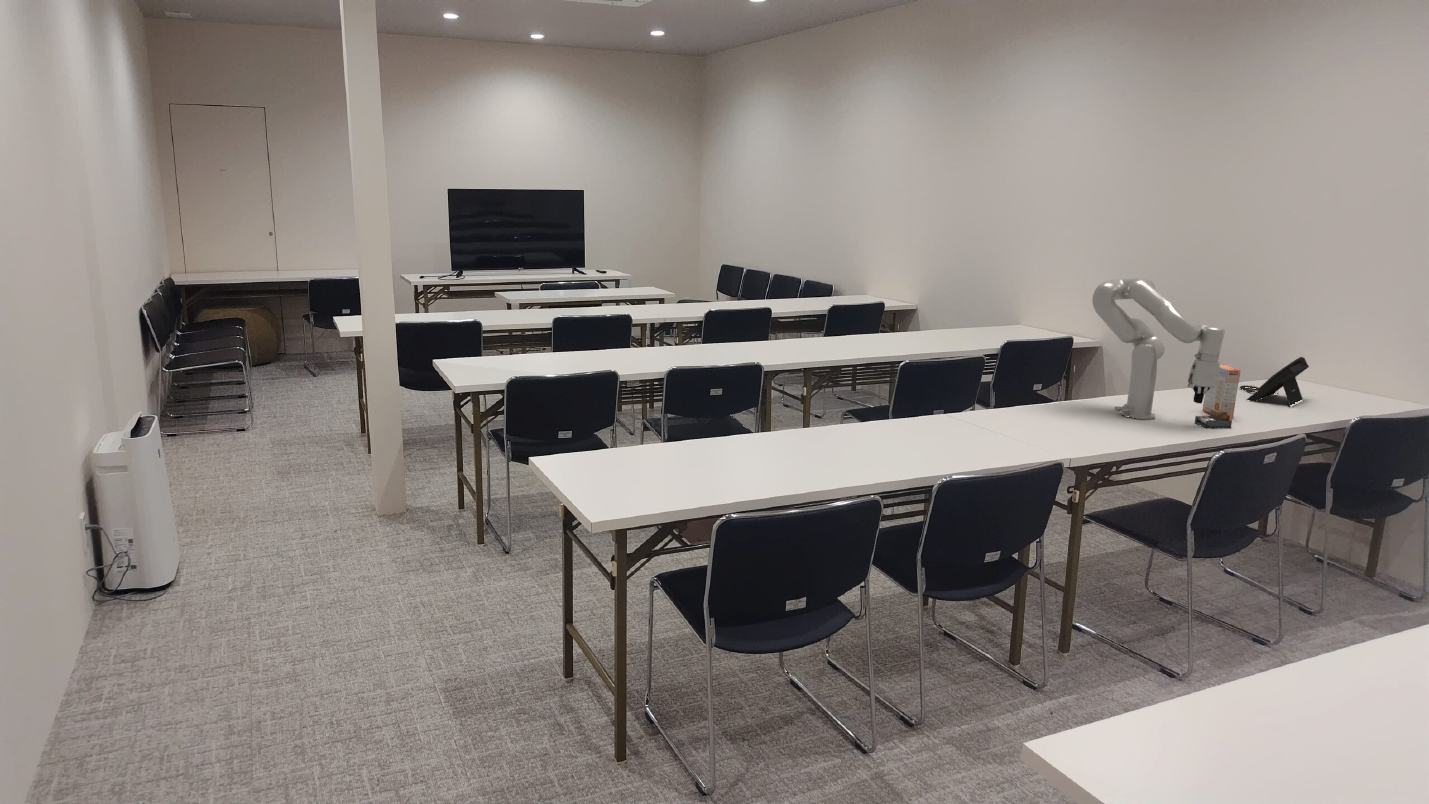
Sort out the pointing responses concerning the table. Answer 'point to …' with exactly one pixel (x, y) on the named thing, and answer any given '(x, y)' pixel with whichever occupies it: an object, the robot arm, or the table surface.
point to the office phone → (1282, 382)
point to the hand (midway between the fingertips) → (1197, 402)
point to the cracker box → (1223, 391)
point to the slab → (1218, 414)
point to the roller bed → (1213, 422)
